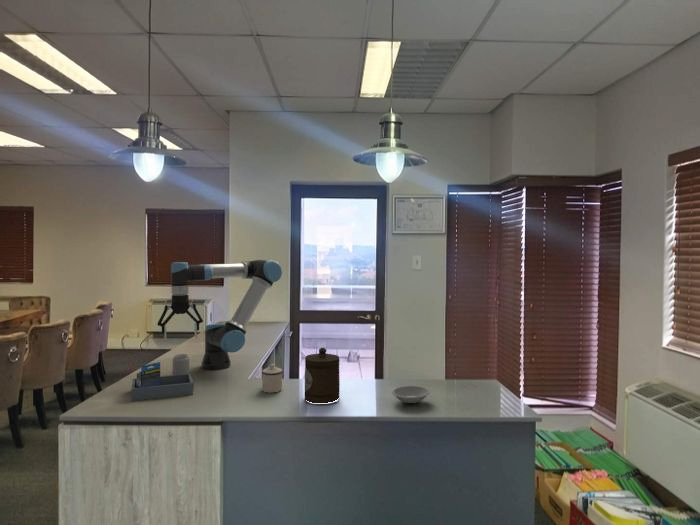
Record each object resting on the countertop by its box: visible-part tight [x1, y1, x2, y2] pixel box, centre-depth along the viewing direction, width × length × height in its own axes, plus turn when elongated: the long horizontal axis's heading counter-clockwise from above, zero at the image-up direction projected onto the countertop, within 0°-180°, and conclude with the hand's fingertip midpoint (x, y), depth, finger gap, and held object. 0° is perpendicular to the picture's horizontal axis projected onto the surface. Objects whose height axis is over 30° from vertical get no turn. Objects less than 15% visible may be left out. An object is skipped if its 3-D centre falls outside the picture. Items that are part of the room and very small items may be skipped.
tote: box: [130, 373, 194, 402], centre depth 190 cm, size 24×16×5 cm, turn 115°
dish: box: [391, 385, 431, 404], centre depth 182 cm, size 18×14×5 cm
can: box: [172, 353, 190, 375], centre depth 209 cm, size 8×8×12 cm
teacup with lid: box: [261, 363, 283, 393], centre depth 197 cm, size 12×9×12 cm
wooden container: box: [304, 347, 340, 403], centre depth 185 cm, size 15×15×22 cm
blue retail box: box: [136, 361, 161, 388], centre depth 188 cm, size 9×4×12 cm, turn 145°
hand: (180, 338), depth 208 cm, fingers open, 13 cm apart
